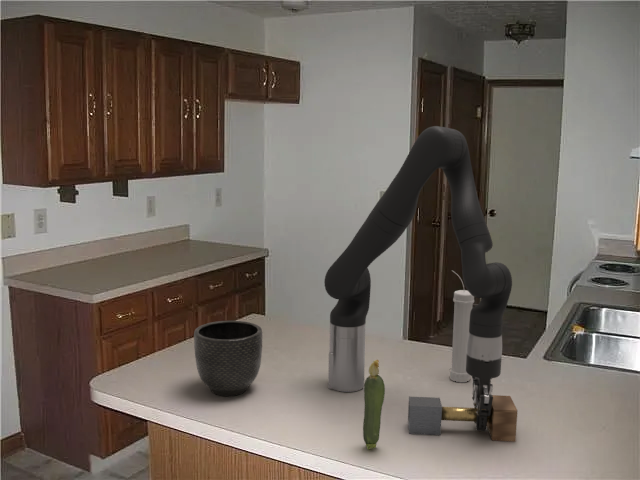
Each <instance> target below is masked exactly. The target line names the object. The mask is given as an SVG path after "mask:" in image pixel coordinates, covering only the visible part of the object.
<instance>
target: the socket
mask: <svg viewBox="0 0 640 480" xmlns="http://www.w3.org/2000/svg"><path fill="white" fill-rule="evenodd" d="M491 395H492V396H493V401H492V406H491V409H493V415H492V423H490V422H487V430H488V433H489V435H490V439H491V441H493V442H494V441H496V442H497V441H498V442H515V443H516V441H517V440H516V437H517V424H518V423H517V421H518V409H517V407H516V405H515V403H514V400H513V398H512V396H510V395H501V394H500V395H497V394H496V395H495V394H491Z"/></svg>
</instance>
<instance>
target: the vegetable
mask: <svg viewBox="0 0 640 480" xmlns="http://www.w3.org/2000/svg"><path fill="white" fill-rule="evenodd" d="M379 363H380V362H379V359H375V360H373V361H372V362H371V364H370V365H369V368H368V374H369V376H367V377H366V379H364V387H363V395H364V396H363V398H364V399H363V400H364V401H363V402H364V409H363V410H364V412H363V413H364V414H363V416H364V417H363V421H362V423H363V424H362V437H363V442H364V443H365V446H366V448H367V450H370V449H371V450H372V449H376V448H377V443H378V442H379V439H380V432H381V431H380V430H381V418H382V409H383V404H384V400H385V392H386V391H385V390H386V386H385V383H384V379H383V378H382V377H381V376H380V369H379V368H380V366H379V365H380V364H379Z"/></svg>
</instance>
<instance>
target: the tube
mask: <svg viewBox="0 0 640 480" xmlns="http://www.w3.org/2000/svg"><path fill="white" fill-rule="evenodd" d="M482 410H486V409H482ZM476 411H477V408H474V407H464V406H463V407H462V406H461V407H460V406H458V407H457V406H442V418H441V421H447V422H448V421H449V422H452V421H453V422H471V423H474V422H476V418H477V413H476ZM492 415H493V409H491V412H490V416H487V422H490V423H492Z"/></svg>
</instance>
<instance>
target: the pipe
mask: <svg viewBox="0 0 640 480" xmlns="http://www.w3.org/2000/svg"><path fill="white" fill-rule="evenodd" d="M452 272H453V273H454V274H455V275H456V276H458V278H459V280H460V281H461V284H462V287H463V289H459V290H455V291H454V292H453V298H452V301H453V302H454V305H453V306H454V309H453V310H454V311H453V312H454V313H453V327H452V328H453V329H452V330H453V332H452V348H451V351H452V352H451V367H450V369H449V378H450V380H451V381H453V382H455V381H456V382H455V383H467V381H468V382H469V381H470V380H471V375H469V374H468V373H467V372H466V356H467V341H468V336H469V321H470V312H471V310H472V308H473V307H474V306H473V305H474V303H475V297H474V296H472V295H471V294H470V293H469V292H468V290H467V289H465V284H464V281H463V279H462V278H461V276H460V275H459V274H458V273H456V271H454V270H452Z"/></svg>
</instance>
